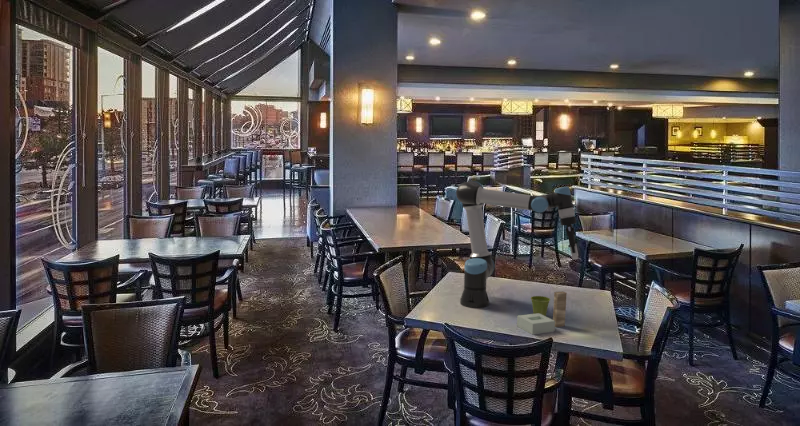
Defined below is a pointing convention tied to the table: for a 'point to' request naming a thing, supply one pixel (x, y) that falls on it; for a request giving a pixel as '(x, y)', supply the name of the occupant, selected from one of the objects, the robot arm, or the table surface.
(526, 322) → the end cap
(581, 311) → the table surface
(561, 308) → the slat
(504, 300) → the table surface
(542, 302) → the plant pot
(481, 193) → the robot arm
